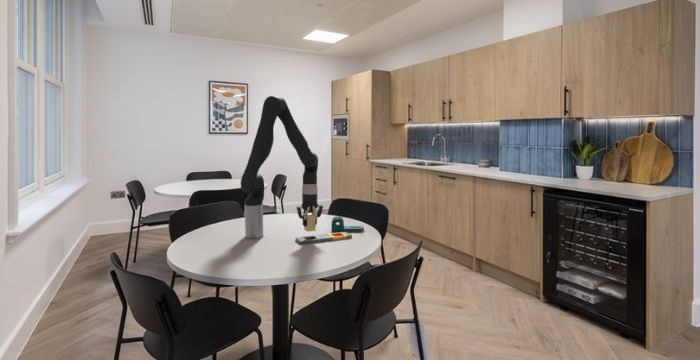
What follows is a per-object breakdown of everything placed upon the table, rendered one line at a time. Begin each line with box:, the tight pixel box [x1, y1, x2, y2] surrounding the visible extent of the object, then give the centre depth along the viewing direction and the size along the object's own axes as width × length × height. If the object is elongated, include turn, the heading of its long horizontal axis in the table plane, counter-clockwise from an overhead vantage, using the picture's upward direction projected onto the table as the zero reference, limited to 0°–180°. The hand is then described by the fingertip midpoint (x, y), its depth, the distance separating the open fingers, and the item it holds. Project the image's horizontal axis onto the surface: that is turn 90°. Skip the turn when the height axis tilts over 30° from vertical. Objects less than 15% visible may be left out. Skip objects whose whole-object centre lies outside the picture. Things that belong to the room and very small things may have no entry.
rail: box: [294, 232, 353, 245], centre depth 202 cm, size 8×28×2 cm, turn 116°
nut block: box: [303, 212, 317, 232], centre depth 198 cm, size 4×4×8 cm
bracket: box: [331, 215, 365, 233], centre depth 220 cm, size 18×7×8 cm, turn 91°
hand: (309, 225), depth 198 cm, fingers closed on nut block, 4 cm apart
